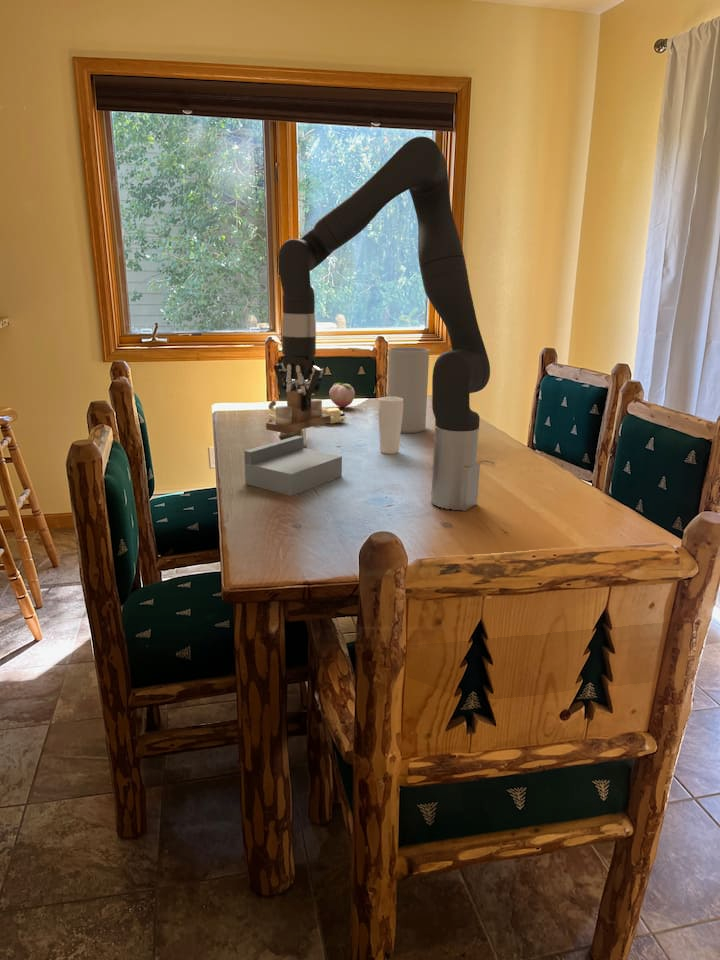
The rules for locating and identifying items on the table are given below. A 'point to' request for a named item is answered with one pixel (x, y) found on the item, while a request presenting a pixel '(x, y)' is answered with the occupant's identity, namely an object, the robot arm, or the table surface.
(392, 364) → the cylinder vase
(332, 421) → the cat figure
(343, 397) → the decorative fruit
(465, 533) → the table surface
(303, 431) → the wood carving
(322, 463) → the grey stepped block
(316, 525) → the table surface
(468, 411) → the robot arm
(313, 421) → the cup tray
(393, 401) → the drinking glass
